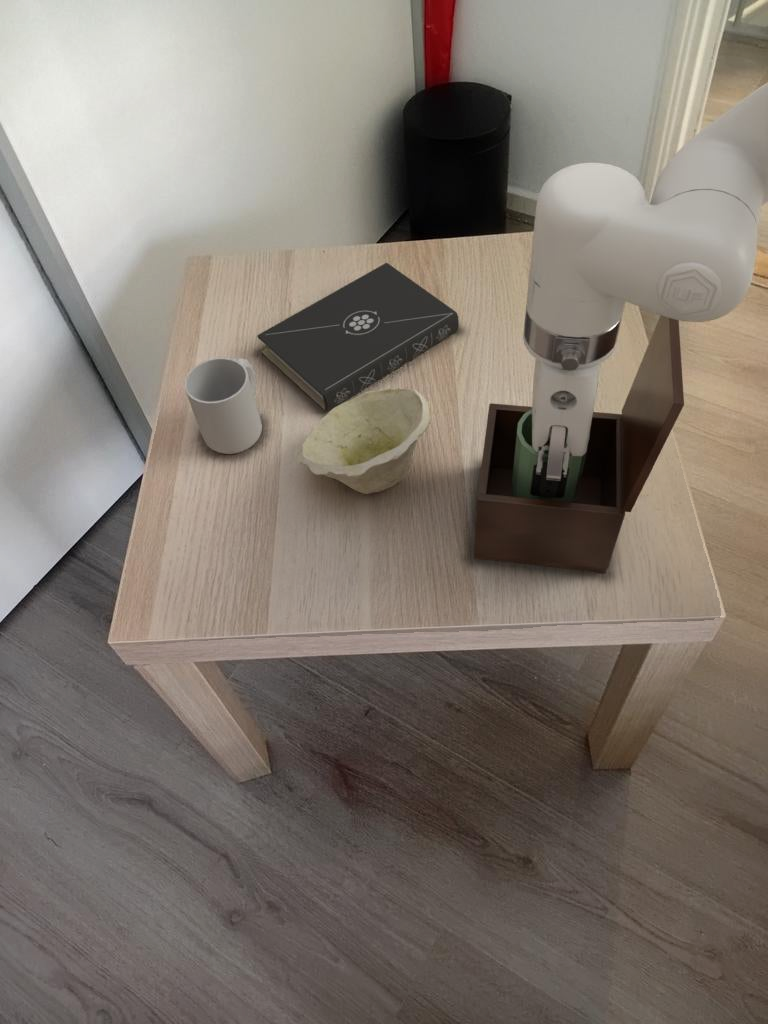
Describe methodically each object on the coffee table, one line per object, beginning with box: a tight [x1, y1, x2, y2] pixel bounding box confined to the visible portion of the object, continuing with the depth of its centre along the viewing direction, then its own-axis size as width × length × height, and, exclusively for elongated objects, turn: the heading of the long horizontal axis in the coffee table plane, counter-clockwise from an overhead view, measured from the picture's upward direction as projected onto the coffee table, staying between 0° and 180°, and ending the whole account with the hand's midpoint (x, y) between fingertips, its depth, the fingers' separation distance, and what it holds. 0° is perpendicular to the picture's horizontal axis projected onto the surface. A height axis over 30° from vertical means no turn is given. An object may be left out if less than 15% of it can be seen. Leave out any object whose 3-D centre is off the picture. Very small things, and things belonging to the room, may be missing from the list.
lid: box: [621, 315, 685, 513], centre depth 69 cm, size 14×13×1 cm
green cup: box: [512, 409, 590, 503], centre depth 77 cm, size 7×7×8 cm
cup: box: [183, 357, 263, 455], centre depth 92 cm, size 7×10×9 cm
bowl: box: [297, 387, 432, 495], centre depth 86 cm, size 15×14×10 cm
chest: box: [473, 402, 626, 574], centre depth 80 cm, size 14×13×10 cm
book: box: [256, 262, 460, 413], centre depth 101 cm, size 22×15×3 cm
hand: (549, 463), depth 77 cm, fingers closed on green cup, 6 cm apart
